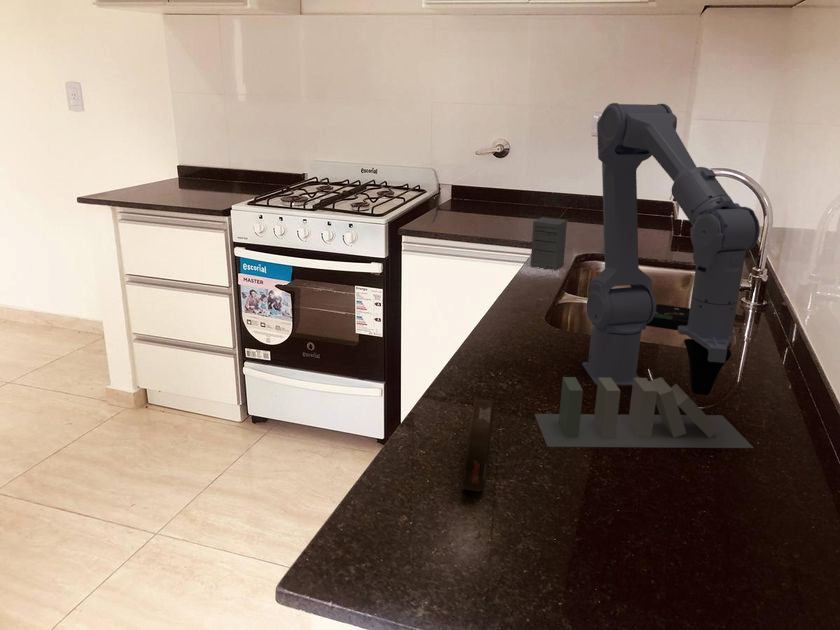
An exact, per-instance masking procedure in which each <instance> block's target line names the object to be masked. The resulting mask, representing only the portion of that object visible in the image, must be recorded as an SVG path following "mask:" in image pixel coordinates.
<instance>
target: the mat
mask: <svg viewBox="0 0 840 630" xmlns="http://www.w3.org/2000/svg"><path fill="white" fill-rule="evenodd" d="M594 414H595V413H594ZM594 414H592V413H591V414H590V413H587V414H585V413H581V417H580V428H579V437H565V435H564V433H563V430H562V428H561V426H560V424H559V415H560V413H534V417H535V419H536V423H537V424H538V427H539V429H540V432H541V434H542V437H543V439H544V443H545V445H546V447H547V448H655V449H656V448H665V449H666V448H670V449H672V448H673V449H678V448H681V449H682V448H683V449H685V448H688V449H689V448H690V449H754V446H753V445H752V444H751V443H750V442H749V441H748V440H747V439H746V438H745V437H744V436H743V435H742V434H741V433H740V432H739V431H738V430H737V428H735V427H734V426H733V425H732V424H731V422H729V421H728V419H726V418H725V416H724V415H722V414H721V415H720V414H715V415H714V414H711V415H710V414H709V415H708V414H706V415H707V417H708V418H709V419H710V420H711V421H712V422H713V423H714V424H715V425H716V426H717V427H718V428H719V431H718V432H716V433H715V434H714V435H713V436H712V437H710V438H709V437H708V436H707V435H706V434H705V433H704V432H703V431H702V430H701V429H700V428H699V427H698V426H697V425H696V424H695V423H694V422H693V421H692V419H691V418H690V417H689V416H688V415H687V414H681V417H682V421H683V424H684V427H685V430H686V434H684V435H681V436H678V437H675V438H674V437H673V436H672V435H671V433H670V432H669V431H668V429H667V428H666V427H665V426H664V424H663V423H662V420H661V417H660V414H654V420H653V427H652V435H651V438H638V437H637V435H636V434H635V432H634V431H633V429H632V428H631V426H630V425H629V423H628V420H629V414H618V417H617V426H616V435H615V438H604V437H602V436H601V435H600V433H599V431H598V429H597V427H596V426H595V424H594Z"/></svg>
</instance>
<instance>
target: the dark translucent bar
mask: <svg viewBox="0 0 840 630" xmlns="http://www.w3.org/2000/svg"><path fill="white" fill-rule="evenodd" d="M494 408H495V402H494V401H493V400H490V399H485V398H478V397H476V396H475V397H474V399H473V408H472V413H471V420H470V424H469V429H468V430H469V431H468V439H467V444H466V451H465V452H466V453H465V460H464V461H465V462H464V467H463V475H462V483H461V490H462V491H464V490H467V491H471V492H472V491H473V492H483V491H484V489H485V481H486V480H485V479H486V473H487V462H488V458H489V451H490V445H491V439H492V437H491V436H492V431H493V430H492V429H493V421H494V413H495V412H494V411H495V409H494Z"/></svg>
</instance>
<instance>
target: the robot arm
mask: <svg viewBox="0 0 840 630" xmlns="http://www.w3.org/2000/svg"><path fill="white" fill-rule="evenodd" d="M596 125H597V126H596V129H597V158H598V160H599V161H600V162H601V169H602V171H601V175H602V176H601V177H602V178H601V179H602V205H603V206H602V207H603V209H602V212H603V217H602V218H603V242H604V243H603V245H604V247H603V248H604V268H603V270H601V271H600V272H599V273H598V274H596V276H595V277H593V278H592V279H591V280H590V282H589V291H588V298H587V301H586V313H587V318H588V319H589V321H590V322H591V324H592V326H593V327H592V329H591V331H590V341H589V350H588V351H589V352H588V361H583V362H582V367H583V368H584V370H585V371H586V373H587V374H588V376H589V377H590V378H591V380H592V382H593V383H594V385H596V386H597V385H598V377H605V378H612V380H613V381H614V382H615V384H616V385H617V386H633V378H640V376H639V375H638V374H637V371H638V370H637V369H638V364H639V363H638V362H639V354H640V347H641V337H642V331H644V330H646V329H647V326H646V324H647V323H649V322H651V321H652V319H653V317H654V315H655V312H656V304H657V300H656V297H655V294H654V289H653V284H652V283H653V281H652V279H651V277H650V276H648V275H647V274H646V273H645V272H644V271H643V270H641V269H640V266H639V232H638V230H639V229H638V226H639V225H638V189H637V188H638V187H637V184H638V183H637V170H638V168H639V166H640V165H641V164H642V162H645V161H647V160H649V159H650V158H651V157H653V158H654V160H655V161H656V162H657V163H658V164H659V165H660V166H661V168H662V169H663V171H665V173H666V174H667V175H668V177H669V178H670V179H671V180H672V181H673V183H672V187H671V195H672V197H673V199H674V200H675V201H676V203H677V204H678V206H679V208H681V210H682V212H683V213H684V215H685V216H686V218H687V219H688V221H689V222H690V224H691V227H690V228H689V229H690V230H689V231H690V232H689V233H690V240H691V243H692V246H693V255H692V259H693V263H694V264H695V270H694V278H693V282H692V283H693V285H692V292H691V296H690V297H691V299H690V307H689V308H690V311H689V318H688V325H687V326H678V330H676V331H677V332H678V334H679V335H682V336H687V337H689V338H685V339H683V343H684V346H685V348H686V352H687V355H688V363H689V376H690V379H689V380H690V388H691V392H692V394H694V395H701V396H709V395H710V393H711V391H712V389H713V386H714V384H715V381H716V379H717V377H718V375H719V373H720V371H721V369H722V368H723V366H724V365H725V364H726V363H727V362H728V361H729V360H730V358H731V356H732V352H731V350H730V344H731V343H732V341H733V340H734V336H735V333H734V331H733V330H734V326H735V320H736V312H737V309H738V308H737V307H738V301H739V295H740V289H741V288H740V287H741V283H742V277H743V270H744V264H745V260H746V259H745V258H746V253H747V252H749V251H750V250H752V249H753V248H754V247H755V246H756V244H757V243H758V240H759V237H760V233H761V232H760V231H761V230H760V229H761V226H760V221H759V219H758V217H757V216H756V215H757V214H756V213H755V211H754V210H753V208H751V207H748V206H741V205H740V204H739V202H736V203H735V202H734V201H733V199H732V197H731V196H730V195H729V193H727V191H726V190H725V189H724V187H723V186H722V185H721V183H720V182H719V181H718V179H717V178H716V177H717V174H716V173H715V171H714V170H713V169H709V168H707V167H706V166H697V165H696V163H695V162H694V160H693V158H692V156H691V155H690V153H689V151H688V149H687V148H686V146H685V144H684V142H683V141H682V138H680V136H679V133H678V132H677V126H678V118H677V116H676V115H675V114H674V113H673V110H672V109H671V107H670V106H669V105H668V104H666V103H657V104H636V103H635V104H634V103H633V104H629V103H628V104H626V103H617V102H612V103H609V104H608V105H606V107H605V108H604V110H603V112H602V114H601V115H600V117H599V119H598V120H597V124H596ZM622 286H630V287H622ZM615 287H616V288H615ZM617 287H618V288H617Z"/></svg>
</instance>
